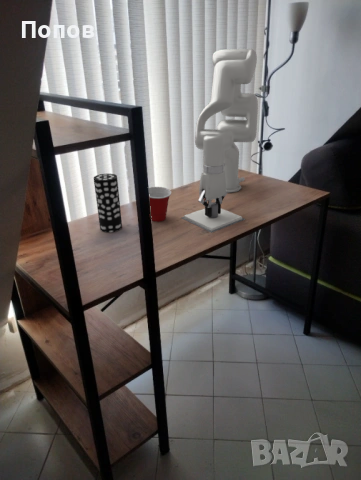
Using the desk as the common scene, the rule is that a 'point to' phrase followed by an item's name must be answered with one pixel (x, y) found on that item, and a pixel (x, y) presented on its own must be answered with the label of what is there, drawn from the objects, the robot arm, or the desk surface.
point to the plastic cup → (159, 202)
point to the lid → (213, 218)
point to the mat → (215, 229)
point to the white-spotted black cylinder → (108, 202)
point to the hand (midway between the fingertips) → (212, 214)
